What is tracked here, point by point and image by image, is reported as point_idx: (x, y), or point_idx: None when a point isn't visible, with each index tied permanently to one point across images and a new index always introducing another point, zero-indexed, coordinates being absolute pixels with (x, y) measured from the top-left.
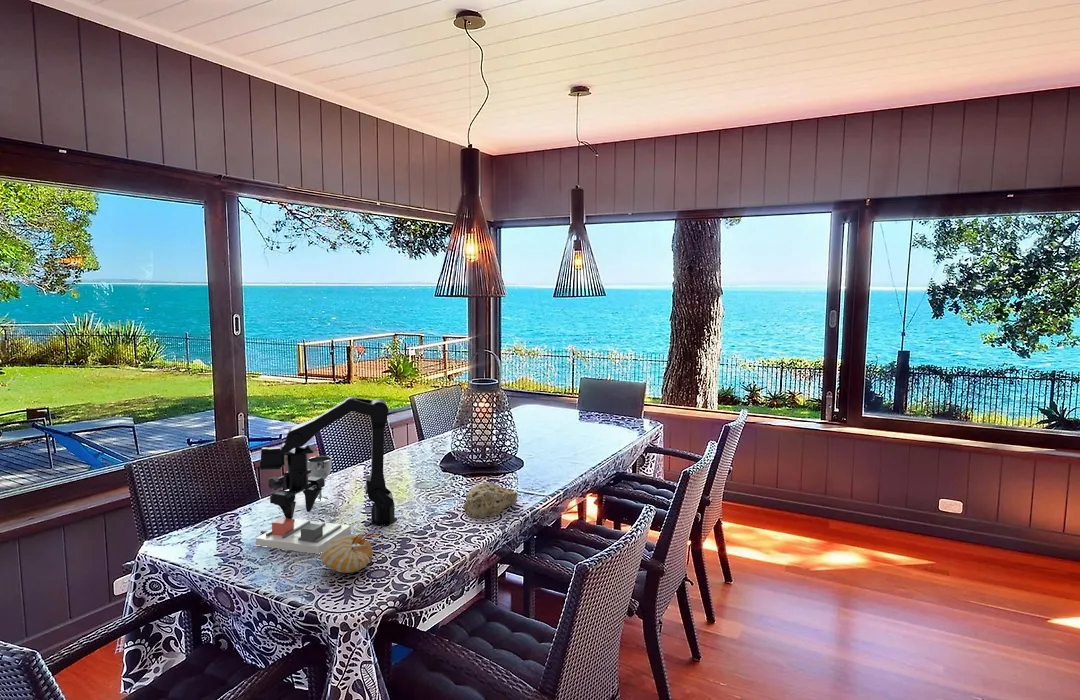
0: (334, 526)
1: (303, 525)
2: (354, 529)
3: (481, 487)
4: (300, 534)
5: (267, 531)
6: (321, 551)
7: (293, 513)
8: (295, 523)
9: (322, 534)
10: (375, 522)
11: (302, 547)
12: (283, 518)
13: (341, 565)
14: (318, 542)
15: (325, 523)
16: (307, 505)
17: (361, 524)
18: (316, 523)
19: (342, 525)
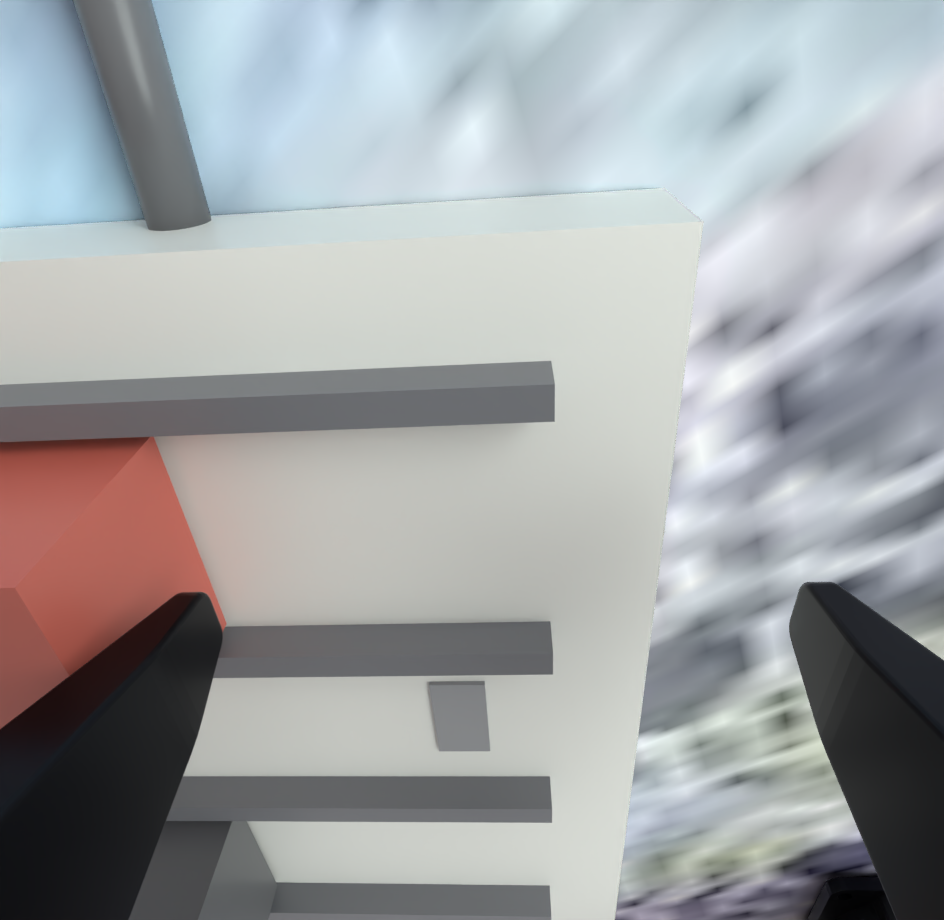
0: (550, 853)
1: (392, 665)
2: (693, 833)
3: None
4: (201, 723)
5: (106, 35)
6: None
7: (145, 868)
8: (475, 466)
9: (266, 910)
10: (839, 914)
11: None
12: (25, 656)
13: None
14: None
15: (605, 769)
16: (874, 722)
17: (823, 832)
18: (574, 700)
19: (596, 887)
